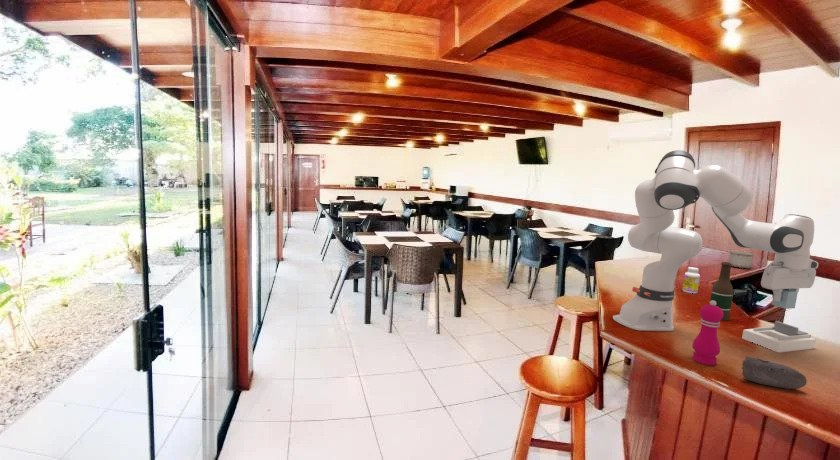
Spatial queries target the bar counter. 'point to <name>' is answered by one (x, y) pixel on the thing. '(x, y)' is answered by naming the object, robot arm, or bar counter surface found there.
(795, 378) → the perforated stone tool
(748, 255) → the planter
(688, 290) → the supplement bottle
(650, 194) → the robot arm
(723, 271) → the beer bottle
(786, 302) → the plug
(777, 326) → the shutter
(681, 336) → the bar counter surface
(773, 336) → the socket board
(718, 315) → the pepper mill
